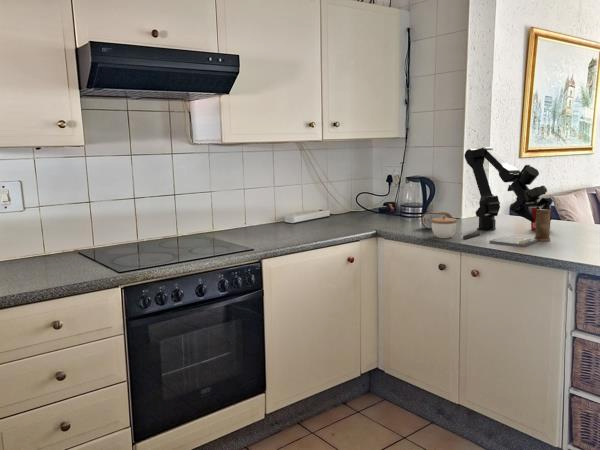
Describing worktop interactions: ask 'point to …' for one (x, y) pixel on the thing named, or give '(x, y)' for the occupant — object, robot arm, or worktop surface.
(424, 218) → the tan curved piece
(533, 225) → the canned food
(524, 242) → the set of cream blocks
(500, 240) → the panel
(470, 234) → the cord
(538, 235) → the mill
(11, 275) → the worktop surface
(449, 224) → the lidded jar
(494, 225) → the robot arm
